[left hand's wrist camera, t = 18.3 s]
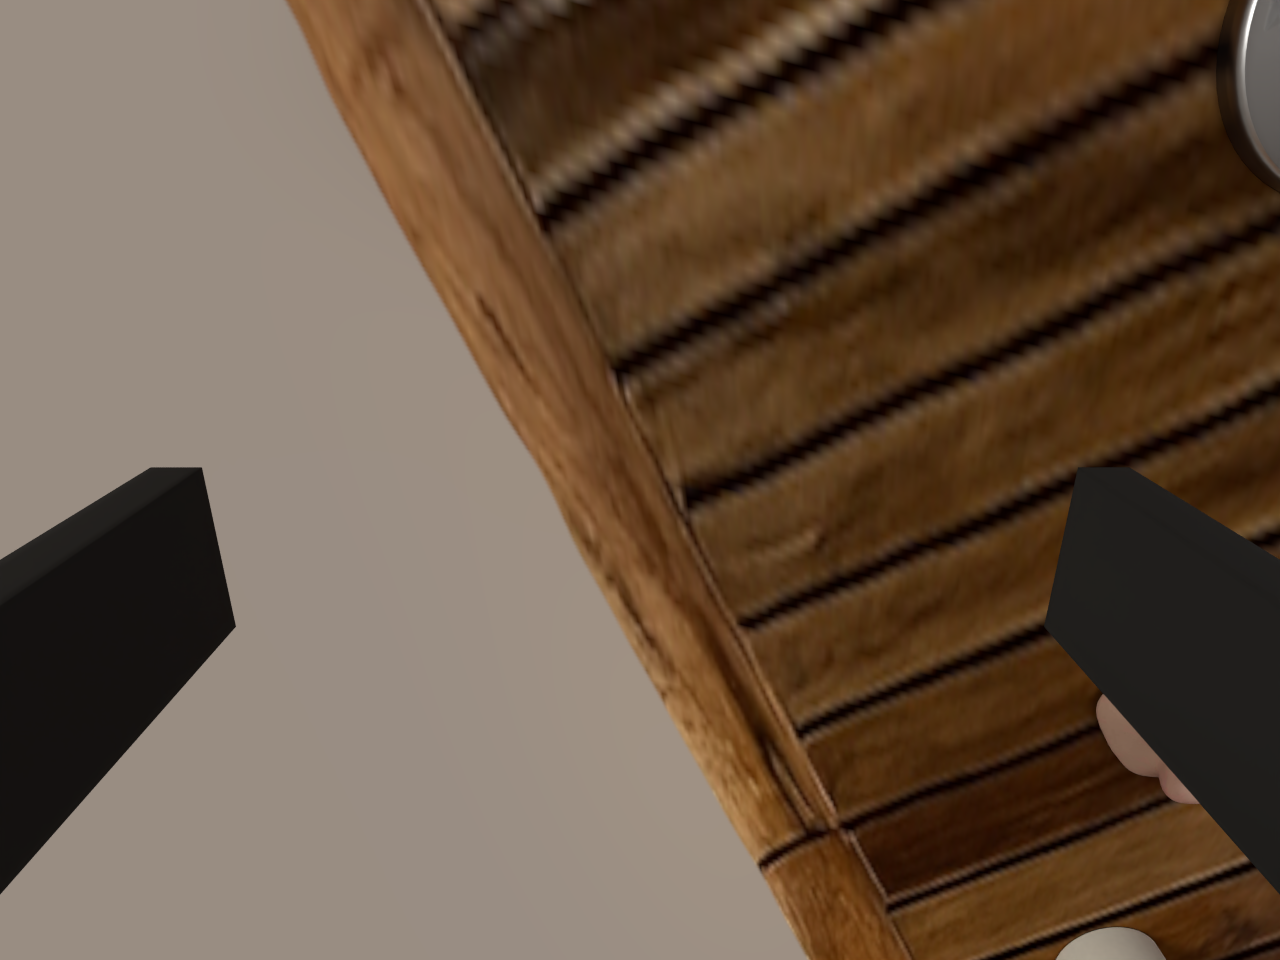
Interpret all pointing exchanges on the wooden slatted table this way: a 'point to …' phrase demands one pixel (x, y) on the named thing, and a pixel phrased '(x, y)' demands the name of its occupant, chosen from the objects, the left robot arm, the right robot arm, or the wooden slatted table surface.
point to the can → (1112, 946)
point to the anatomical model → (1138, 752)
